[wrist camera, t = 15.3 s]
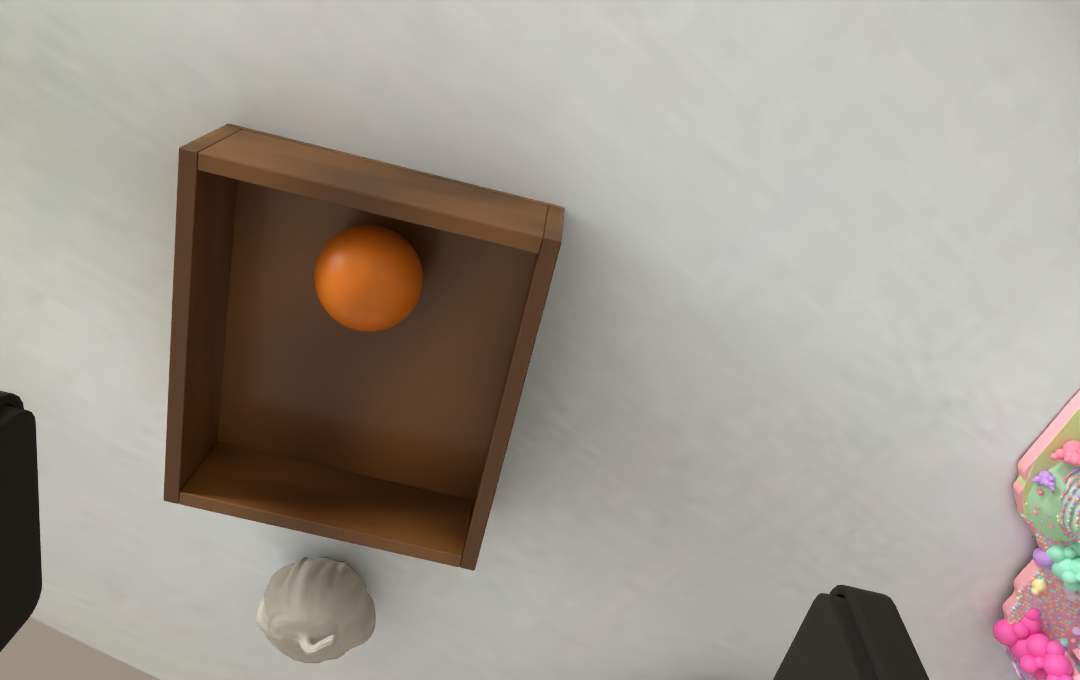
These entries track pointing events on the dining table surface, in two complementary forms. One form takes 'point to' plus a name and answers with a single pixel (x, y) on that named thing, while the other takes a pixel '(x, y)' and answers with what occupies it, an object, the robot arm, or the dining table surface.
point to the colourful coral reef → (1048, 557)
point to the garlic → (316, 610)
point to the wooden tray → (347, 346)
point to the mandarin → (368, 278)
